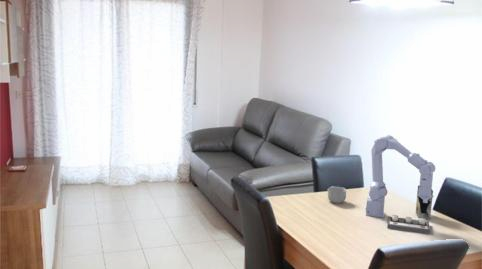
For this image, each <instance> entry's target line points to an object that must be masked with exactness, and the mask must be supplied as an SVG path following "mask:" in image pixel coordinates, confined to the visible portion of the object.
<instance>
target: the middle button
mask: <svg viewBox="0 0 482 269" xmlns="http://www.w3.org/2000/svg"><path fill="white" fill-rule="evenodd" d="M412 219H413V218H412V217H411V216H405V222H406V223H411V222H412Z"/></svg>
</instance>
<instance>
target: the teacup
mask: <svg viewBox="0 0 482 269" xmlns="http://www.w3.org/2000/svg"><path fill="white" fill-rule="evenodd" d="M346 197H347V189H346V188H345V187H341V186H334V185H332V186H330V187H328V188H327V198H328V199H327V200H329V201H330V202H331V203H332V204H335V203H336V204H337V205H338V204H343V203H344V202H345V201H346Z"/></svg>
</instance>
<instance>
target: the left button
mask: <svg viewBox="0 0 482 269" xmlns="http://www.w3.org/2000/svg"><path fill="white" fill-rule="evenodd" d="M391 217H392V221H395V222H397V221H398V218H399V215H397V214H392V216H391Z"/></svg>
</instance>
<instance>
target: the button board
mask: <svg viewBox="0 0 482 269" xmlns="http://www.w3.org/2000/svg"><path fill="white" fill-rule="evenodd" d="M405 219H406V217H405V218H404V217H398V221H397V222H395V221H392V216H387V229H390V230H399V231H404V232H405V231H406V232H412V233H421V234H426V235H427V234H428V235H430V234H431V225H430V222H429V220H428V221H427V220H426V221H425V225H420V224H419V219H413V218H412V222H411V223H406V222H405Z"/></svg>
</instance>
